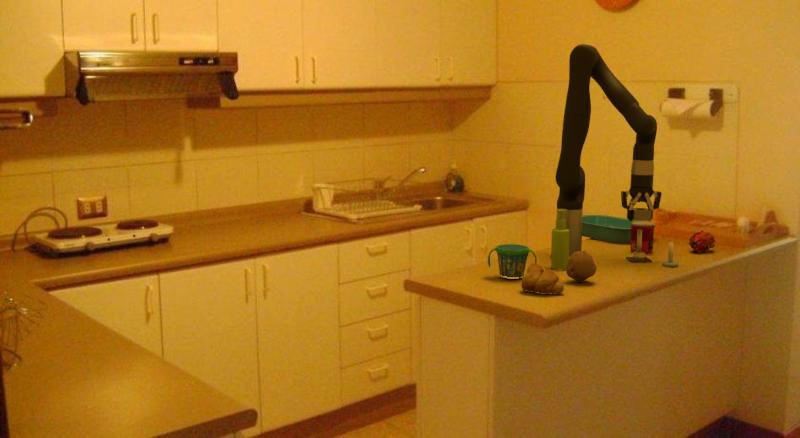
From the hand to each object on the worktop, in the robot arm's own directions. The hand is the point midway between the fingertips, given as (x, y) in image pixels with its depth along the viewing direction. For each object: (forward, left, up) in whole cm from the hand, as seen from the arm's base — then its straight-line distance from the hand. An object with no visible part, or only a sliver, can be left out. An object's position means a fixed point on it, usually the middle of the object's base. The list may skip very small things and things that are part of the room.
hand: (639, 220), depth 296 cm
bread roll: (-43, -43, -15) cm, 63 cm away
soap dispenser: (-30, -9, -15) cm, 34 cm away
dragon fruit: (+28, +14, -15) cm, 35 cm away
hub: (+8, -9, -14) cm, 19 cm away
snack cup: (-49, -23, -15) cm, 56 cm away
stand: (0, 0, -14) cm, 14 cm away
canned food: (+6, +15, -15) cm, 22 cm away
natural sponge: (-28, -31, -15) cm, 44 cm away
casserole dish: (+4, +47, -15) cm, 49 cm away
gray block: (0, 0, +1) cm, 1 cm away
